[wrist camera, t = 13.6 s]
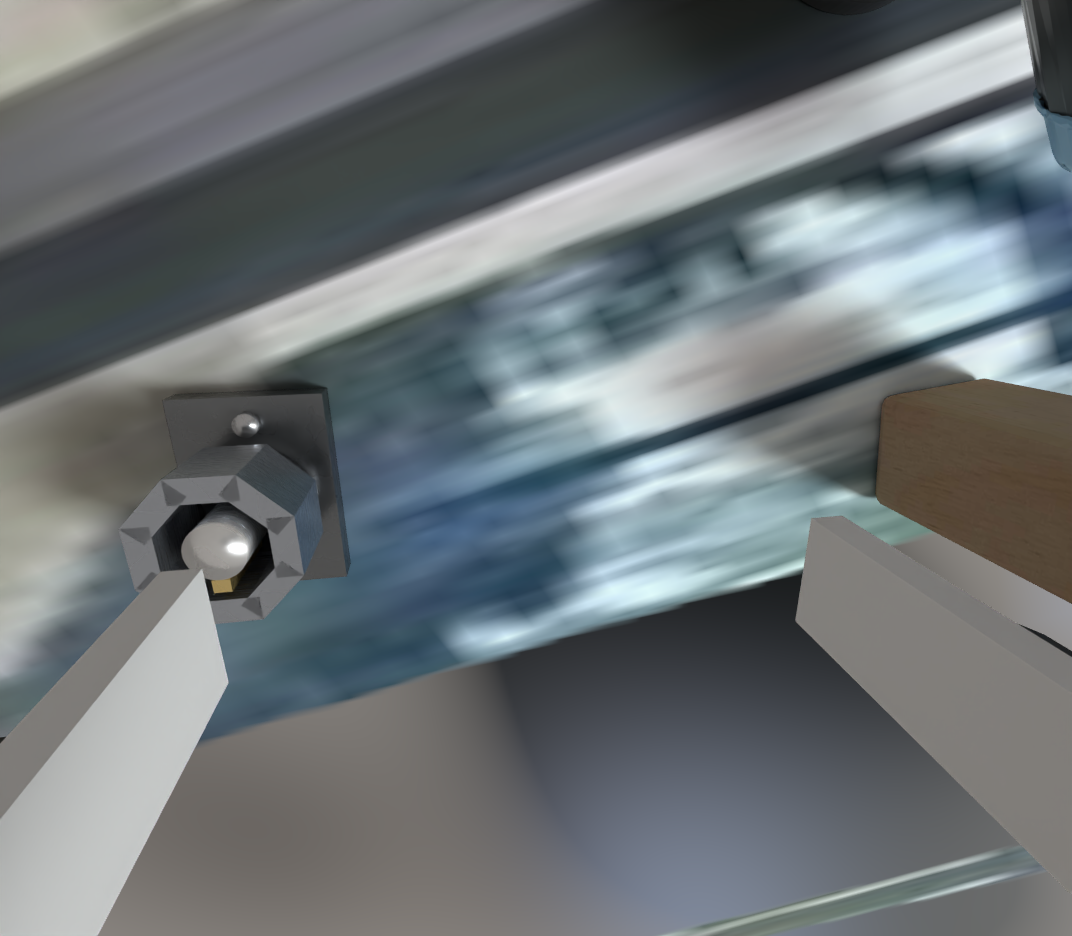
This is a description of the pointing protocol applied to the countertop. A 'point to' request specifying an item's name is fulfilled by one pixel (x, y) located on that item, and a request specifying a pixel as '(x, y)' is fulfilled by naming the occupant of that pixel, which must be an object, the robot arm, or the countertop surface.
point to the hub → (251, 486)
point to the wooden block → (985, 473)
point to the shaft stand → (294, 432)
